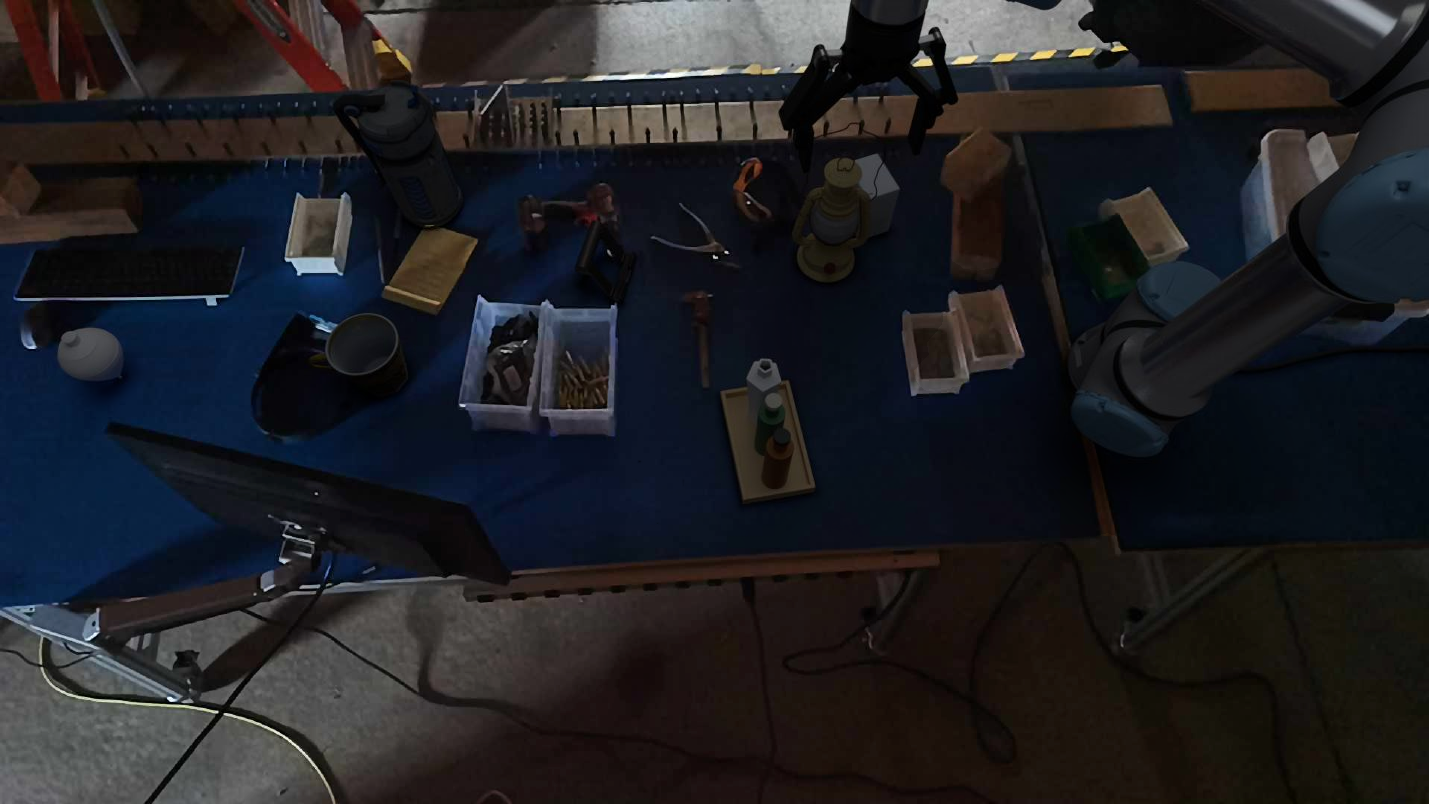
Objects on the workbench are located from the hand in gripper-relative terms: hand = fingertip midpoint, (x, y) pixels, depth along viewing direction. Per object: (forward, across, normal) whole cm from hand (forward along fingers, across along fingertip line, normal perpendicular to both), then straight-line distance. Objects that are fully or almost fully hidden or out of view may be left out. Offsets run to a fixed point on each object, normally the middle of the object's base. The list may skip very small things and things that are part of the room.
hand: (858, 155), depth 104 cm
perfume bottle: (+34, +14, +16) cm, 40 cm away
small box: (+34, -10, -16) cm, 39 cm away
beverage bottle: (+33, +60, -32) cm, 75 cm away
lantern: (+34, -2, -9) cm, 35 cm away
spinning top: (+32, +106, -8) cm, 111 cm away
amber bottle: (+34, +15, +26) cm, 45 cm away
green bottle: (+34, +14, +21) cm, 42 cm away
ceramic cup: (+33, +69, -1) cm, 77 cm away
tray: (+34, +14, +20) cm, 42 cm away
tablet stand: (+33, +33, -12) cm, 49 cm away
